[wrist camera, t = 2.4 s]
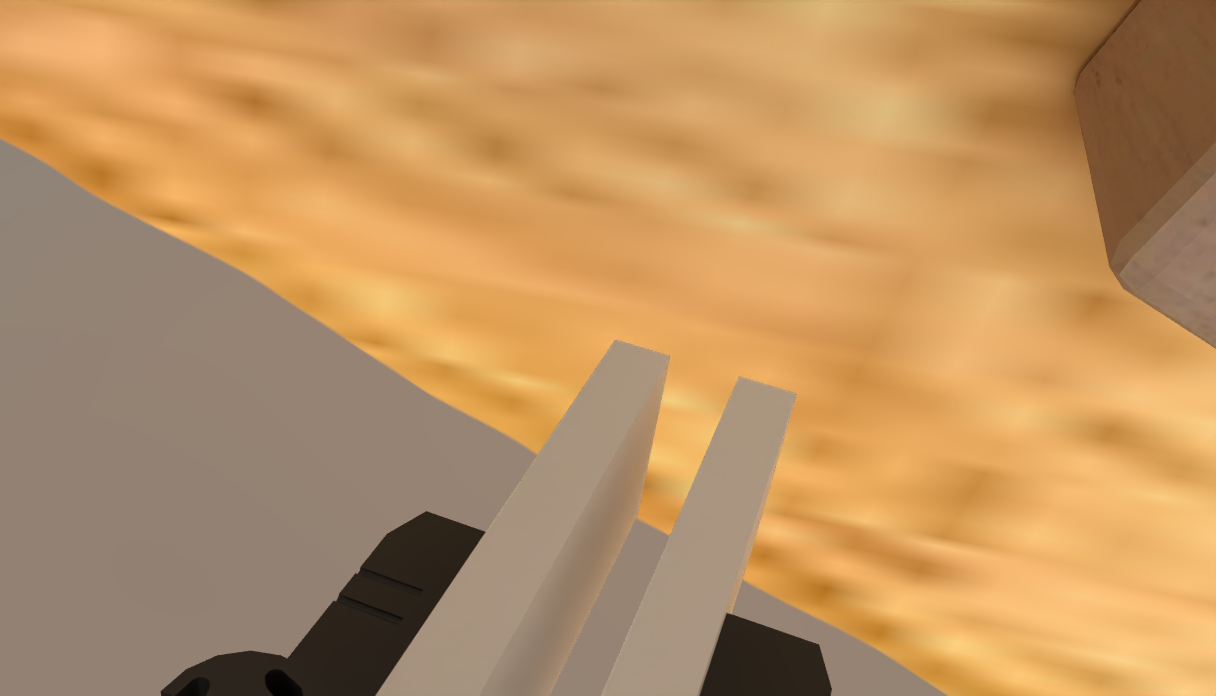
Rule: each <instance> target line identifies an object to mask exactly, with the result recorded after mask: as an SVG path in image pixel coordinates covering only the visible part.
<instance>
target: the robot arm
mask: <svg viewBox="0 0 1216 696" xmlns="http://www.w3.org/2000/svg"><path fill="white" fill-rule="evenodd" d="M669 359H670V356H669V355H666V354H662V353H659V352H656V351H652V350H649V349H646V348H642V347H639V346H635V345H632V344H629V343H625V342H622V341H619V340H615V341H614V342H613V344H612V345H611V347H610V348H609V350H608V351H607V353H606V354H605V356H604V357H603V359H602V360H601V362H600V363H599V365H598V366H597V368H596V369H595V370H594V372H593V373H592V375H591V376H590V378H589V379H588V381H587V382H586V384H585V385H584V387H583V388H582V390H581V391H580V393H579V394H578V396H577V397H576V399H575V400H574V402H573V403H572V405H571V406H570V408H569V409H568V411H567V412H566V414H565V415H564V417H563V418H562V419H561V421H560V422H559V424H558V425H557V427H556V428H555V430H554V431H553V433H552V434H551V436H550V437H549V439H548V440H547V442H546V443H545V445H544V446H543V448H542V449H541V451H540V452H539V454H538V455H537V457H536V458H535V460H534V461H533V463H532V464H531V466H530V467H529V468H528V470H527V472H526V473H525V474H524V476H523V477H522V479H521V480H520V482H519V484H518V485H517V487H516V488H515V489H514V491H513V492H512V494H511V495H510V497H509V498H508V500H507V501H506V503H505V504H504V506H503V507H502V509H501V510H500V512H499V513H498V515H497V516H496V517H495V519H494V521H493V522H492V523H491V525H490V526H489V528H488V529H487V531H486V532H484V531H481V530H479V529H476V528H473V527H470V526H467V525H464V524H461V523H459V522H456V521H453V520H450V519H447V518H444V517H441V516H438V515H436V514H432V513H430V512H427V511H426V512H424V513H422V514H421V515H419V516H417V517H416V518H414V519H412V520H410V521H409V522H407V523H405V524H403V525H402V526H400V527H398V528H396V529H395V530H393V531H391V532H390V533H388V534H387V535H386V536H385V537H384V538H383V540H382V541H381V542H380V543H379V545H378V546H377V547H376V548H375V550H374V551H373V552H372V554H371V555H370V556H369V557H368V558H367V560H366V561H365V562H364V563H363V565H362V566H361V568H360V571H359V573H358V574H355V575H354V576H353V577H352V578H351V580H350V581H349V582H348V583H347V585H346V586H345V587H344V588H343V590H342V591H341V592H340V594H339V597H338V599H337V601H333V602H332V603H331V605H330V606H329V607H328V608H327V610H326V611H325V612H324V613H323V615H322V616H321V617H320V618H319V620H318V621H317V622H316V623H315V625H314V626H313V627H312V628H311V630H310V631H309V632H308V634H307V635H306V636H305V637H304V639H303V640H302V641H301V642H300V643H299V645H298V646H297V647H296V648H295V650H294V651H293V652H292V653H291V655H290V656H289V657H288V658H287V659H286V658H285V657H283V656H281V655H275V654H268V653H261V652H255V651H245V652H238V653H231V654H224V655H217V656H215V657H213V658H211V659H208V660H206V661H204V662H202V663H199V664H197V665H195V666H193V667H191V668H188V669H186V670H185V671H184V672H182V673H181V674H180V675H179V676H178V677H177V678H176V679H174V680H173V681H172V682H171V683H170V684H169V685H167V686H166V687H165V688H164V689H163V690H162V691H161V696H549V695H550V693H551V691H552V689H553V687H554V685H555V683H556V681H557V679H558V677H559V675H560V673H561V671H562V669H563V667H564V665H565V663H566V661H567V659H568V657H569V654H570V652H571V650H572V648H573V646H574V644H575V642H576V640H577V638H578V636H579V634H580V632H581V630H582V628H583V626H584V624H585V622H586V620H587V618H588V616H589V613H590V611H591V609H592V607H593V605H594V603H595V601H596V599H597V597H598V595H599V593H600V591H601V589H602V587H603V585H604V583H605V581H606V579H607V577H608V574H609V572H610V570H611V568H612V566H613V564H614V562H615V560H616V558H617V556H618V554H619V552H620V550H621V548H622V546H623V544H624V542H625V540H626V537H627V535H628V533H629V531H630V529H631V527H632V525H633V523H634V521H635V519H636V517H637V515H638V512H639V507H640V502H641V497H642V492H643V487H644V482H645V478H646V473H647V468H648V463H649V458H650V453H651V448H652V443H653V438H654V433H655V428H656V423H657V418H658V414H659V409H660V404H661V399H662V394H663V389H664V384H665V379H666V374H667V369H668V364H669ZM796 395H797V393H793V392H790V391H786V390H783V389H780V388H776V387H773V386H770V385H766V384H763V383H760V382H756V381H753V380H750V379H746V378H743V377H740V376H739V378H738V380H737V382H736V385H735V387H734V389H733V392H732V394H731V396H730V399H729V401H728V403H727V406H726V408H725V410H724V412H723V415H722V417H721V419H720V422H719V424H718V426H717V429H716V431H715V433H714V436H713V438H712V440H711V443H710V445H709V447H708V449H707V452H706V454H705V456H704V459H703V461H702V463H701V466H700V468H699V470H698V473H697V475H696V477H695V479H694V482H693V484H692V486H691V489H690V491H689V493H688V496H687V498H686V500H685V503H684V505H683V507H682V510H681V512H680V514H679V516H678V519H677V521H676V523H675V526H674V528H673V530H672V533H671V535H670V537H669V540H668V542H667V544H666V547H665V549H664V551H663V553H662V556H661V558H660V560H659V563H658V565H657V568H656V570H655V572H654V575H653V577H652V579H651V581H650V584H649V586H648V588H647V590H646V593H645V595H644V597H643V600H642V602H641V604H640V607H639V609H638V612H637V614H636V616H635V618H634V620H633V623H632V625H631V627H630V630H629V632H628V634H627V637H626V639H625V641H624V644H623V646H622V649H621V651H620V653H619V655H618V657H617V660H616V662H615V665H614V667H613V669H612V671H611V674H610V676H609V679H608V681H607V683H606V685H605V688H604V690H603V692H602V695H601V696H831V691H832V688H831V685H830V681H829V678H828V674H827V671H826V667H825V664H824V660H823V657H822V653H821V650H820V646H819V644H816V643H813V642H810V641H807V640H804V639H801V638H798V637H795V636H792V635H789V634H787V633H783V632H781V631H778V630H775V629H772V628H769V627H766V626H764V625H761V624H758V623H755V622H752V621H749V620H746V619H744V618H741V617H738V616H735V615H732V614H731V613H732V610H733V607H734V604H735V601H736V598H737V594H738V591H739V588H740V585H741V582H742V579H743V576H744V573H745V570H746V566H747V563H748V560H749V557H750V554H751V551H752V547H753V544H754V540H755V537H756V534H757V530H758V527H759V523H760V520H761V516H762V513H763V509H764V506H765V502H766V499H767V495H768V492H769V488H770V485H771V482H772V478H773V475H774V471H775V468H776V464H777V461H778V457H779V454H780V450H781V447H782V443H783V440H784V436H785V433H786V430H787V426H788V423H789V419H790V416H791V412H792V409H793V405H794V402H795V398H796Z"/></svg>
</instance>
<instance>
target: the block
mask: <svg viewBox="0 0 1216 696" xmlns="http://www.w3.org/2000/svg"><path fill="white" fill-rule="evenodd" d="M1074 95H1075V99H1076V104H1077V109H1078V114H1079V119H1080V124H1081V129H1082V134H1083V139H1084V144H1085V149H1086V153H1087V158H1088V163H1089V168H1090V173H1091V178H1092V183H1093V188H1094V193H1095V198H1096V203H1097V208H1098V212H1099V217H1100V222H1101V227H1102V232H1103V237H1104V242H1105V247H1106V252H1107V257H1108V262H1109V266H1110V268H1111V270H1112V271H1113V273H1114V275H1115V276H1116V278H1117V279H1118V281H1119V282H1120V284H1121V286H1122V287H1123V289H1125V290H1126V291H1128V292H1129V293H1131V294H1132V295H1134V296H1135V297H1137V298H1138V299H1140V300H1142V301H1143V302H1145V303H1146V304H1148V305H1149V306H1151V307H1152V308H1154V309H1155V310H1157V311H1159V312H1160V313H1162V314H1163V315H1165V316H1166V317H1168V318H1169V319H1171V320H1172V321H1174V322H1176V323H1177V324H1179V325H1180V326H1182V327H1183V328H1185V329H1186V330H1188V331H1189V332H1191V333H1193V334H1194V335H1196V336H1197V337H1199V338H1200V339H1202V340H1203V341H1205V342H1206V343H1208V344H1210V345H1211V346H1213V347H1214V348H1216V0H1141V1H1140V2H1139V3H1138V5H1137V6H1136V7H1135V8H1134V9H1133V11H1132V12H1131V13H1130V14H1129V15H1128V17H1127V18H1126V19H1125V20H1124V21H1123V23H1122V24H1121V25H1120V26H1119V27H1118V28H1117V30H1116V31H1115V32H1114V33H1113V34H1112V36H1111V37H1110V38H1109V39H1108V40H1107V42H1106V43H1105V44H1104V45H1103V46H1102V48H1101V49H1100V50H1099V51H1098V52H1097V54H1096V55H1095V56H1094V57H1093V58H1092V60H1091V61H1090V62H1089V63H1088V64H1087V66H1086V67H1085V68H1084V69H1083V70H1082V72H1081V73H1080V75H1079V78H1078V81H1077V84H1076V87H1075V90H1074Z"/></svg>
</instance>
